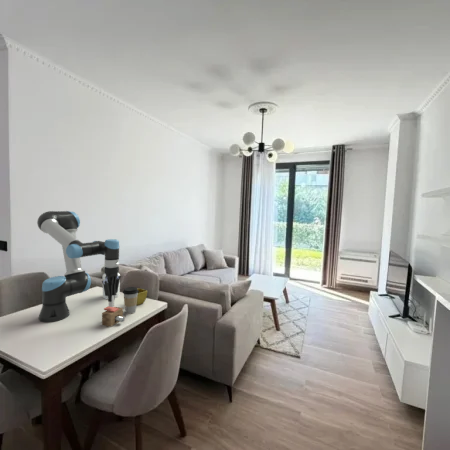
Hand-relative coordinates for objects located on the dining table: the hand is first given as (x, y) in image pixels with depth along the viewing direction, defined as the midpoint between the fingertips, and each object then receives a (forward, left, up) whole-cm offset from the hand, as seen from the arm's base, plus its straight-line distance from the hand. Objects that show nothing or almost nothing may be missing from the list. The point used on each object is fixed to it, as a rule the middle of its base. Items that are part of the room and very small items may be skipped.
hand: (111, 306), depth 149 cm
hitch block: (+1, 0, -9) cm, 9 cm away
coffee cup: (+1, +16, -10) cm, 19 cm away
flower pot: (-3, +30, -10) cm, 32 cm away
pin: (+2, 0, -9) cm, 9 cm away
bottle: (-30, +35, -10) cm, 47 cm away
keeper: (0, 0, -2) cm, 2 cm away
